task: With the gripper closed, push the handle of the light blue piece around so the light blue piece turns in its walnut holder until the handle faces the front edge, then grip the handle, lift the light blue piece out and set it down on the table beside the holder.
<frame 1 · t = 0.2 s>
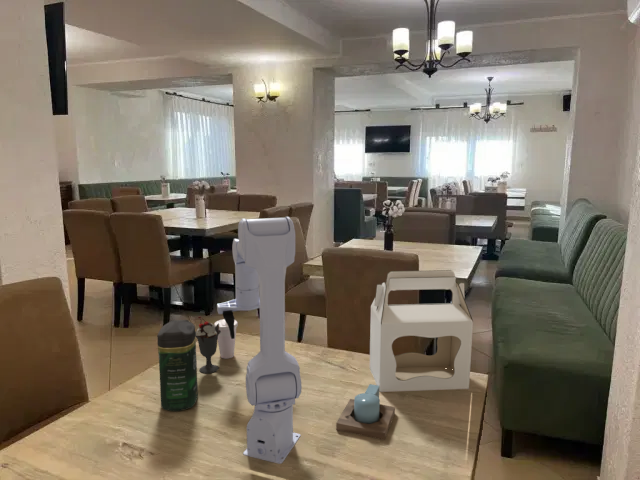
hand: (247, 334, 117), 11 cm above the table, tool pointing down, fingers open, 7 cm apart
gable box: (416, 379, 116), on the table
coffee jar: (180, 402, 105), on the table
smoothie: (227, 356, 130), on the table
sundae: (209, 370, 121), on the table
light blue piece: (366, 421, 97), resting in holder
holder: (366, 423, 97), on the table
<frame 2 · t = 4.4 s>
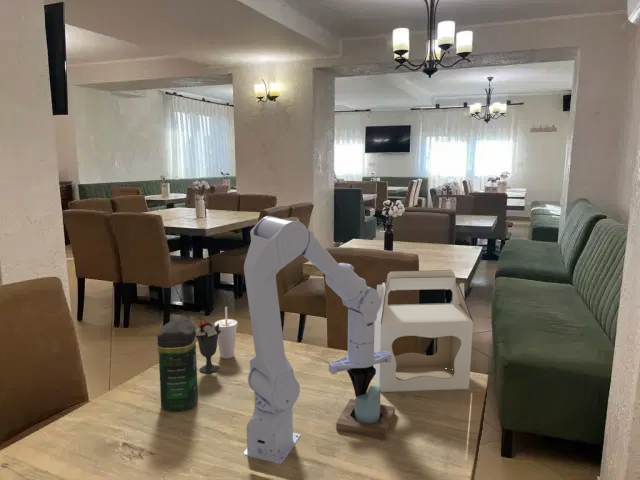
hand: (360, 397, 102), 3 cm above the table, tool pointing down, fingers closed
light blue piece: (367, 422, 96), point 1 cm above the table, touching gripper, holder
everything else where it was.
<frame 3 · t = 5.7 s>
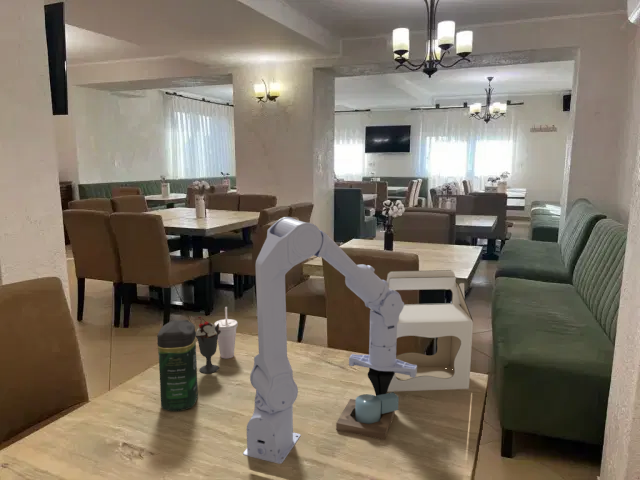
hand: (381, 400, 101), 3 cm above the table, tool pointing down, fingers closed
light blue piece: (367, 422, 96), point 1 cm above the table, touching gripper
everything else where it was.
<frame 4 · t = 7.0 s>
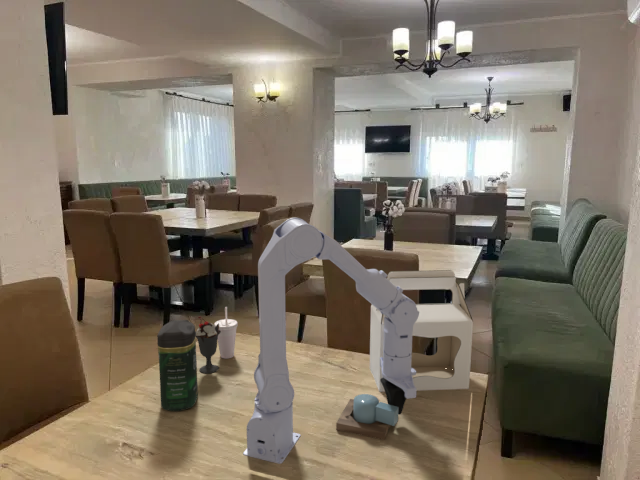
hand: (395, 413, 96), 3 cm above the table, tool pointing down, fingers closed
light blue piece: (365, 422, 96), point 1 cm above the table, touching gripper, holder
everything else where it was.
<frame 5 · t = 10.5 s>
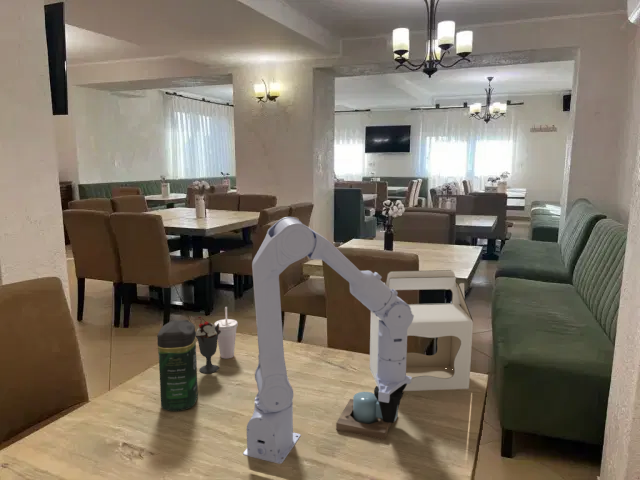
hand: (390, 417, 94), 3 cm above the table, tool pointing down, fingers closed on light blue piece, 2 cm apart
light blue piece: (365, 419, 97), point 1 cm above the table, touching gripper, holder
everything else where it was.
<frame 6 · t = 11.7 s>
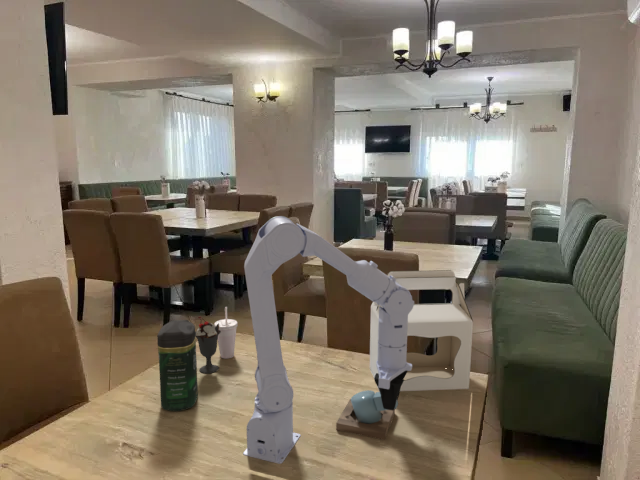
hand: (390, 405, 94), 5 cm above the table, tool pointing down, fingers closed on light blue piece, 2 cm apart
light blue piece: (369, 418, 96), point 1 cm above the table, tilted 18°, touching gripper
everything else where it was.
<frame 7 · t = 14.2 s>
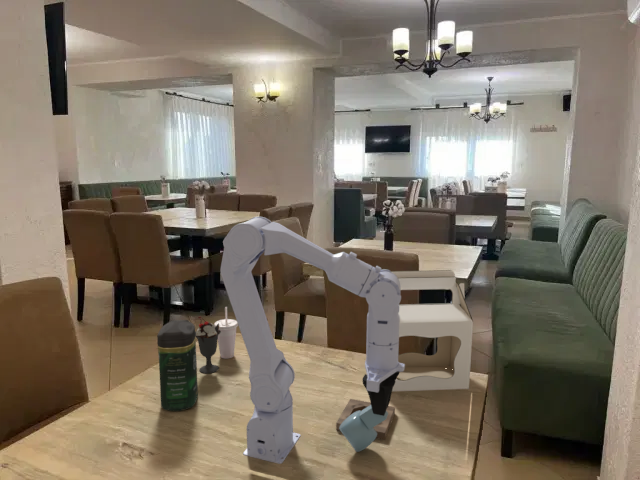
hand: (380, 409, 85), 9 cm above the table, tool pointing down, fingers closed on light blue piece, 2 cm apart
light blue piece: (366, 441, 86), point 3 cm above the table, tilted 41°, touching gripper
everything else where it was.
when the fingers open (3 cm above the table, at t = 16.1 s): light blue piece stays where it is, on the table.
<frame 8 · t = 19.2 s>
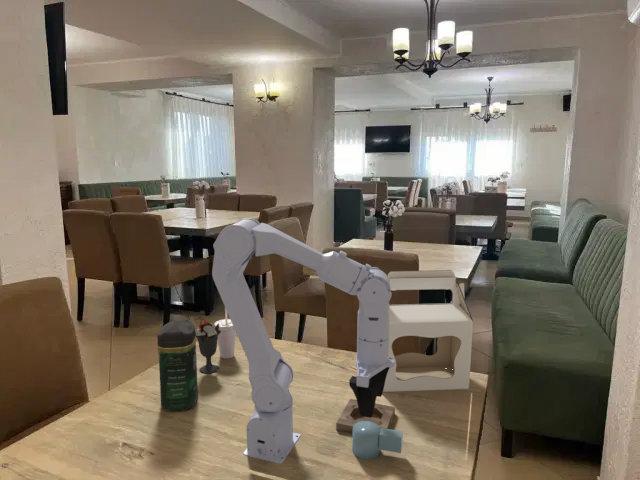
hand: (371, 405, 86), 9 cm above the table, tool pointing down, fingers open, 7 cm apart
light blue piece: (366, 452, 87), on the table
everything else where it was.
at the end: light blue piece inside the target area (2.9 cm from its centre), on the table; light blue piece tilted 0°; the gripper is holding nothing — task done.
